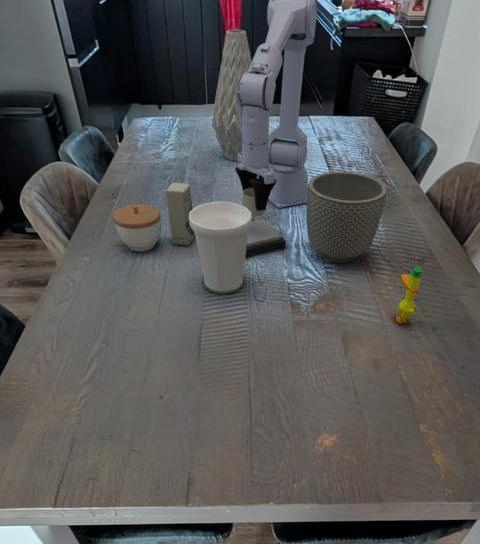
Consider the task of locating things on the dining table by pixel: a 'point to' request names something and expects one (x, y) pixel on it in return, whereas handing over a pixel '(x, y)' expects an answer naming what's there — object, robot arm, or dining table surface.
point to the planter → (343, 213)
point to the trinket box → (138, 226)
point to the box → (180, 213)
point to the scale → (263, 239)
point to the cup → (221, 243)
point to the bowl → (251, 202)
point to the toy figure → (409, 294)
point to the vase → (230, 93)
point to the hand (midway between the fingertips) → (255, 204)
